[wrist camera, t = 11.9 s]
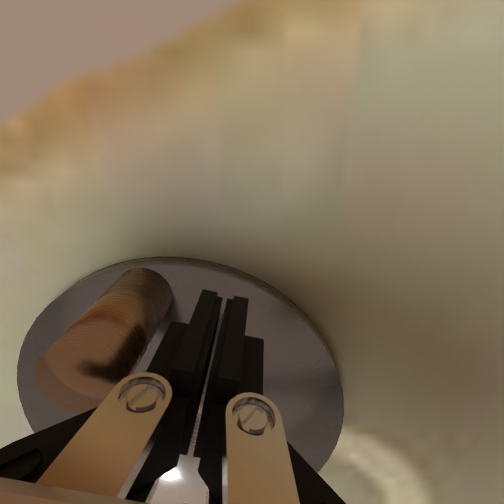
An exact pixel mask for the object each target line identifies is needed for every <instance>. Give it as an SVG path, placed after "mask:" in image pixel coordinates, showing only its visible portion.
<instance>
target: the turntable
mask: <svg viewBox="0 0 504 504" xmlns="http://www.w3.org/2000/svg"><path fill="white" fill-rule="evenodd" d="M203 289H205V290H210V291H215V292H218V295H217V296H219V297H223V300H222V305H221V310H220V315H219V320H218V325H217V330H216V335H215V340H214V345H213V350H212V355H211V360H210V365H209V366H210V367H211V365H212V361H213V357H214V353H215V348H216V344H217V340H218V336H219V331H220V327H221V323H222V319H223V314H224V310H225V306H226V302H227V298H229V299H233V298H234V296H239V297H244V298H249V302H248V311H247V320H246V329H245V335H246V336H251V337H256V338H261V339H263V340H264V365H263V396H264V397H267V398H268V399H269V400H270V401H272V402H273V403H274V404H275V406H276V407H277V408H278V410H279V412H280V415H281V418H282V422H283V427H284V432H285V436H286V440H287V441H288V442H289V444H290V445H291V446H292V447H293V448H294V449H295V450H296V451H297V452H298V453H299V454H300V455H301V456H302V457H303V458H304V460H305V461H306V462H307V463H308V464H309V465H310V466H311V467H312V468H313V469H314V470H315V471H316V472H317V473H318V472H319V471H320V469H321V468H322V467H323V466H324V464H325V463H326V462H327V460H328V459H329V457H330V455H331V454H332V452H333V450H334V448H335V446H336V444H337V441H338V438H339V435H340V432H341V428H342V422H343V416H344V406H343V394H342V388H341V383H340V379H339V375H338V372H337V368H336V365H335V362H334V360H333V357H332V354H331V352H330V349H329V347H328V345H327V344H326V342H325V340H324V338H323V337H322V335H321V333H320V332H319V330H318V329H317V328H316V327H315V325H314V324H313V323H312V321H311V320H310V319H309V318H308V316H307V315H306V314H305V313H304V312H302V311H301V310H300V309H299V308H298V307H297V306H296V305H295V304H294V303H293V302H292V301H291V300H289V299H288V298H287V297H285V296H284V295H283V294H281V293H280V292H279V291H277V290H276V289H274V288H273V287H271V286H269V285H267V284H266V283H264V282H262V281H260V280H258V279H257V278H255V277H253V276H250V275H248V274H245V273H243V272H240V271H238V270H236V269H233V268H230V267H226V266H223V265H219V264H216V263H212V262H208V261H202V260H195V259H189V258H172V257H157V258H146V259H137V260H132V261H128V262H123V263H119V264H115V265H112V266H110V267H107V268H104V269H102V270H99V271H96V272H94V273H93V274H91V275H89V276H87V277H85V278H84V279H82V280H80V281H78V282H77V283H75V284H74V285H73V286H72V287H70V288H69V289H68V290H66V291H65V292H64V293H63V294H61V295H60V296H59V297H58V298H57V299H55V300H54V301H53V302H52V303H50V304H49V305H48V306H47V307H46V308H45V310H44V311H43V312H42V313H41V314H40V315H39V316H38V317H37V318H36V320H35V321H34V323H33V325H32V326H31V328H30V329H29V331H28V333H27V334H26V337H25V340H24V342H23V345H22V347H21V350H20V355H19V360H18V365H17V384H18V391H19V397H20V401H21V404H22V407H23V410H24V413H25V416H26V418H27V420H28V422H29V424H30V426H31V428H32V430H33V431H34V433H36V432H39V431H41V430H43V429H46V428H48V427H51V426H53V425H55V424H58V423H60V422H63V421H65V420H67V419H70V418H72V417H74V416H77V415H79V414H82V413H84V412H86V411H89V410H91V409H94V408H96V407H98V406H99V405H100V404H101V403H102V401H103V400H104V399H105V398H106V397H107V395H108V394H109V393H110V392H111V390H112V389H113V388H114V387H115V386H116V385H117V384H118V383H119V382H120V381H121V380H122V379H124V378H125V377H127V376H129V375H132V374H136V373H142V372H143V371H145V370H146V369H148V367H149V365H150V362H151V360H152V358H153V356H154V354H155V352H156V350H157V348H158V346H159V344H160V342H161V340H162V338H163V336H164V334H165V332H166V330H167V328H168V326H169V324H170V323H171V321H176V322H181V323H186V324H189V322H190V320H191V317H192V315H193V312H194V310H195V307H196V305H197V302H198V300H199V297H200V295H201V292H202V290H203Z"/></svg>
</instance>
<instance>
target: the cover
mask: <svg viewBox="0 0 504 504" xmlns="http://www.w3.org/2000/svg"><path fill="white" fill-rule="evenodd" d="M210 370H211V367H210V366H209V369H208V373H207V377H206V381H205V385H204V389H203V393H202V397H201V401H200V405H199V410H198V414H197V418H196V422H195V426H194V430H193V434H192V438H191V442H190V446H189V450H188V454H187V455H182V454H180V456H179V460H178V464H177V467H174V468H173V469H172V470H170V471H169V472H167V473H166V474H164V475H162V476H161V477H160V479H159V482H158V486H157V488H156V490H155V493H154V495H153V497H152V499H151V501H150V503H149V504H206V492H207V486H206V484H205V483H204V481H203V480H202V478H201V476H200V475H199V473H198V467H199V462H200V458H198V457H193V453H194V448H195V443H196V438H197V433H198V428H199V423H200V418H201V413H202V408H203V403H204V398H205V393H206V388H207V383H208V379H209V374H210ZM146 371H147V369H146V370H145V371H143V372H146Z"/></svg>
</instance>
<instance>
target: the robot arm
mask: <svg viewBox="0 0 504 504" xmlns="http://www.w3.org/2000/svg"><path fill="white" fill-rule="evenodd" d="M217 295H218V292H215V291H210V290H205V289H203V290H202V292H201V295H200V297H199V300H198V302H197V305H196V307H195V310H194V312H193V315H192V317H191V320H190V322H189V324H186V323H181V322H176V321H171V323H170V324H169V326H168V328H167V330H166V332H165V334H164V336H163V338H162V340H161V342H160V344H159V346H158V348H157V350H156V352H155V354H154V356H153V358H152V360H151V362H150V365H149V367H148V369H147V371H146V372H142V373H136V374H132V375H129V376H127V377H125V378H124V379H122V380H121V381H120V382H119V383H118V384H117V385H116V386H115V387H114V388H113V389H112V390H111V392H110V393H109V394H108V395H107V397H106V398H105V399H104V400H103V401H102V403H101V404H100V405H99V406H98V407H96V408H94V409H91V410H89V411H86V412H84V413H82V414H79V415H77V416H74V417H72V418H70V419H67V420H65V421H63V422H60V423H58V424H55V425H53V426H51V427H48V428H46V429H43V430H41V431H39V432H36V433H34V434H31V435H29V436H27V437H24V438H22V439H20V440H17V441H15V442H13V443H11V444H9V445H7V446H5V447H3V448H1V449H0V504H149V503H150V501H151V499H152V497H153V495H154V493H155V490H156V488H157V486H158V482H159V479H160V477H161V476H162V475H164V474H166V473H167V472H169V471H170V470H172V469H173V468H174V467H177V464H178V460H179V456H180V454H182V455H187V454H188V450H189V446H190V442H191V438H192V434H193V430H194V426H195V422H196V418H197V414H198V410H199V405H200V401H201V397H202V393H203V389H204V385H205V381H206V377H207V373H208V369H209V365H210V360H211V355H212V350H213V345H214V340H215V335H216V330H217V325H218V320H219V315H220V310H221V305H222V300H223V297H219V296H217ZM248 302H249V298H244V297H239V296H234V298H233V299H229V298H227V302H226V306H225V310H224V314H223V319H222V323H221V327H220V331H219V336H218V340H217V344H216V348H215V353H214V357H213V361H212V365H211V370H210V374H209V379H208V383H207V388H206V393H205V398H204V403H203V408H202V413H201V418H200V423H199V428H198V433H197V438H196V443H195V448H194V453H193V457H198V458H200V462H199V467H198V473H199V475H200V476H201V478H202V480H203V481H204V483H205V484H206V486H207V492H206V504H346V503H345V502H344V501H343V500H342V499H341V498H340V497H339V496H338V495H337V494H336V493H335V492H334V490H333V489H332V488H331V487H330V486H329V485H328V484H327V483H326V482H325V481H324V480H323V479H322V478H321V477H320V476H319V474H318V473H317V472H316V471H315V470H314V469H313V468H312V467H311V466H310V465H309V464H308V463H307V462H306V461H305V460H304V458H303V457H302V456H301V455H300V454H299V453H298V452H297V451H296V450H295V449H294V448H293V447H292V446H291V445H290V444H289V442H288V441H287V440H286V436H285V432H284V427H283V422H282V418H281V415H280V412H279V410H278V408H277V407H276V406H275V404H274V403H273V402H272V401H270V400H269V399H268V398H267V397H264V396H263V365H264V340H263V339H261V338H256V337H251V336H246V335H245V329H246V320H247V311H248Z"/></svg>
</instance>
